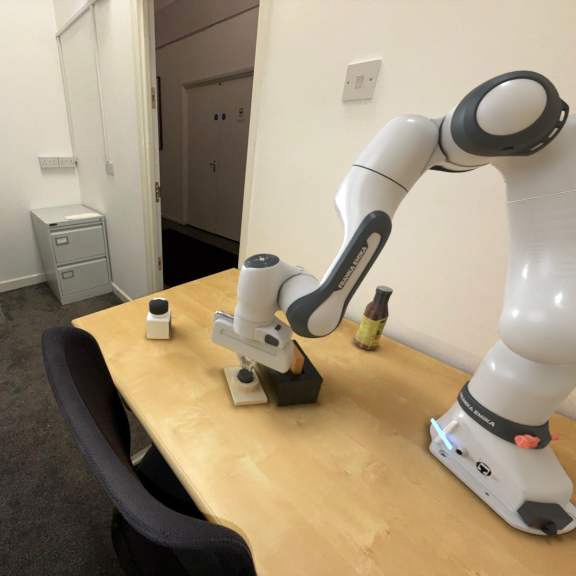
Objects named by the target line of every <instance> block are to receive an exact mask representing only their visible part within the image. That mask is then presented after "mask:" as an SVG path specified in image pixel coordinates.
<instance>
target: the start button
mask: <svg viewBox="0 0 576 576" xmlns="http://www.w3.org/2000/svg"><path fill="white" fill-rule="evenodd" d="M238 379H239V380H240V381H241V382H242V383H246V384H247V383H250V382H252V379H253V372H252V371H251V372H250V371H248V370H246V369H241V370H240V371H239V375H238Z"/></svg>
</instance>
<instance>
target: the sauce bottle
mask: <svg viewBox="0 0 576 576" xmlns="http://www.w3.org/2000/svg"><path fill="white" fill-rule="evenodd" d="M393 293H394V290H393V288H391V287H389V286H386V285H377V286H376V288H375V293H374V297H373V299H372V301H370V302H369V303H368V304H366V306H365V308H364V312H363V314H362V316H361V320H360V323H359V325H358V328H357V331H356V335H355V339H354V343H355V344H356V346H357V347H358V348H361V349H363V350H367V351H371V350H375V349H376V348H377V346H378V345H379V343H380V340H381V337H382V334H383V331H384V329H385V326H386V323H387V321H388V319H389V301H390V299H391V296H392V295H393Z"/></svg>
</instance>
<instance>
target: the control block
mask: <svg viewBox="0 0 576 576" xmlns="http://www.w3.org/2000/svg"><path fill="white" fill-rule="evenodd" d="M241 369H243V368H241V367H240V365H239V366H228V367H224V369H223V372H224V375H225V378H226V381H227V384H228V387H229V390H230V393H231V397H232V400H233V403H234V406H246V405H247V406H248V405H256V404H257V405H258V404H267V403H268V397H267V395H266V393H265V391H264V388H263V385H262V383H261V381H260V379H259V378H260V377H258V374H257V373H256V370H255V368H254V367H253V369H252V372H253V379H252V382H250V383H247V384H246V383H242V382H241V381H240V380H239V379H238V375H239V371H240V370H241Z"/></svg>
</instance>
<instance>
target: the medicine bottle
mask: <svg viewBox="0 0 576 576" xmlns="http://www.w3.org/2000/svg"><path fill="white" fill-rule="evenodd" d="M145 320H146V321H145V323H146V338H147V339H150V340H152V339H153V340H170V338H171V332H172V308H169V300H168V299H166V298H165V297H155V298H152V299H150V300H149V302H148V312H147V317H146V319H145Z"/></svg>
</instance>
